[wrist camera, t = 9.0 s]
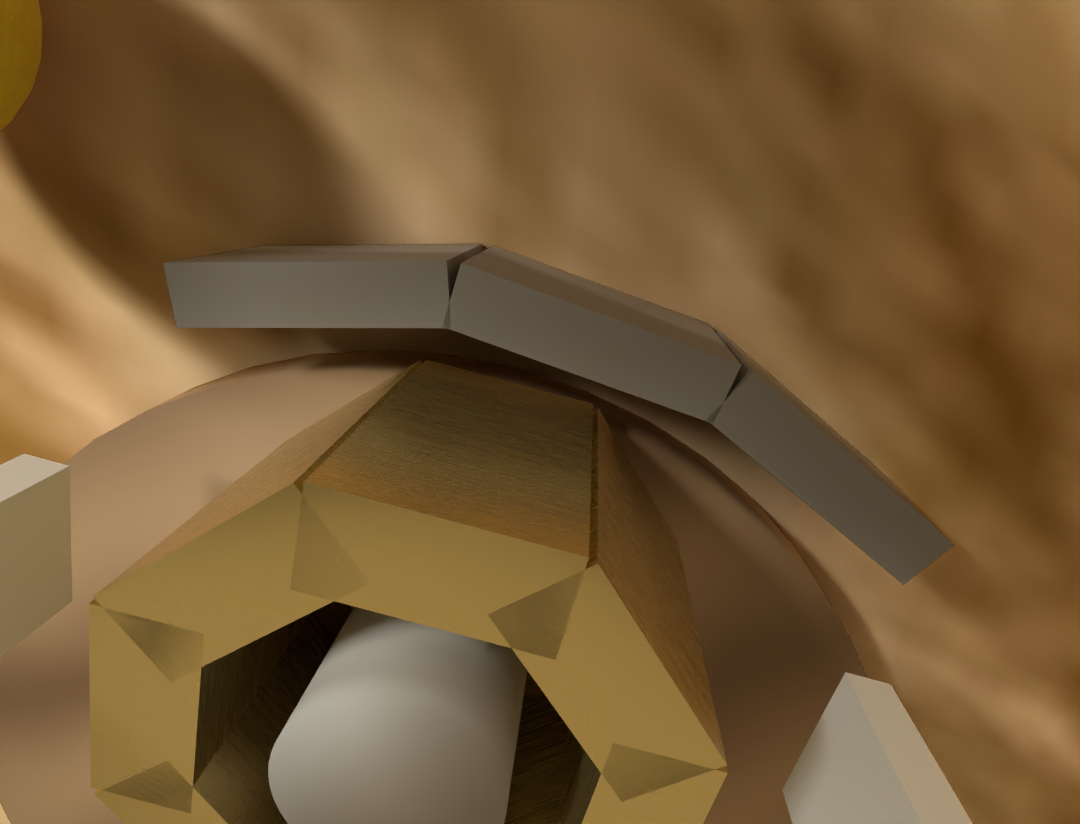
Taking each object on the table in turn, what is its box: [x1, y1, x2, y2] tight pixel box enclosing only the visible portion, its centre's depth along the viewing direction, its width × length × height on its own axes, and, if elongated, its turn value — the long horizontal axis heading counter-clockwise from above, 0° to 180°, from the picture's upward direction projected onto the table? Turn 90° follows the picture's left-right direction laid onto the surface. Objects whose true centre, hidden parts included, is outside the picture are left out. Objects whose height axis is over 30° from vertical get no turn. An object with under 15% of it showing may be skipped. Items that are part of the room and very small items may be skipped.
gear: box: [89, 360, 728, 824], centre depth 10 cm, size 8×8×5 cm
